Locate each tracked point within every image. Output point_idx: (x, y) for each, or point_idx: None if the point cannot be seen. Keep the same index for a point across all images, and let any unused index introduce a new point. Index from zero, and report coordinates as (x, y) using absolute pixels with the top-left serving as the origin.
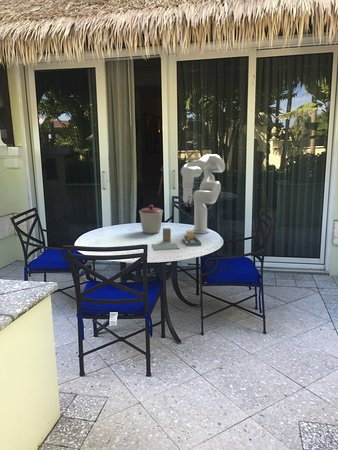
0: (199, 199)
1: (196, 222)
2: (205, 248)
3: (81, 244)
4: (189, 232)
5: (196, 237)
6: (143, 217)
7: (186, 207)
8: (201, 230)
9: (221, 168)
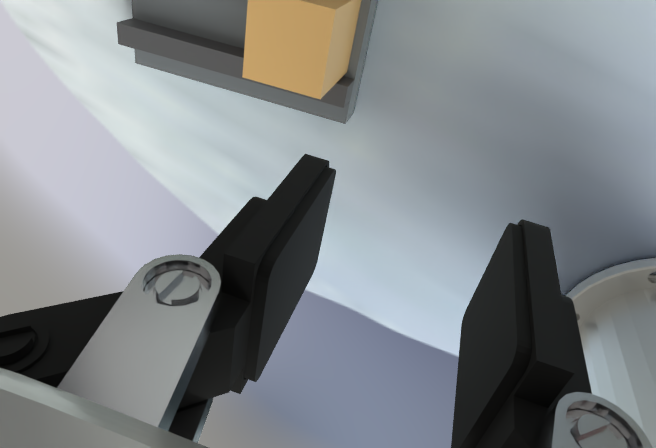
0: None
1: None
2: (52, 34)
3: None
4: (251, 11)
5: (227, 72)
6: None
7: (237, 237)
8: (590, 324)
9: None
